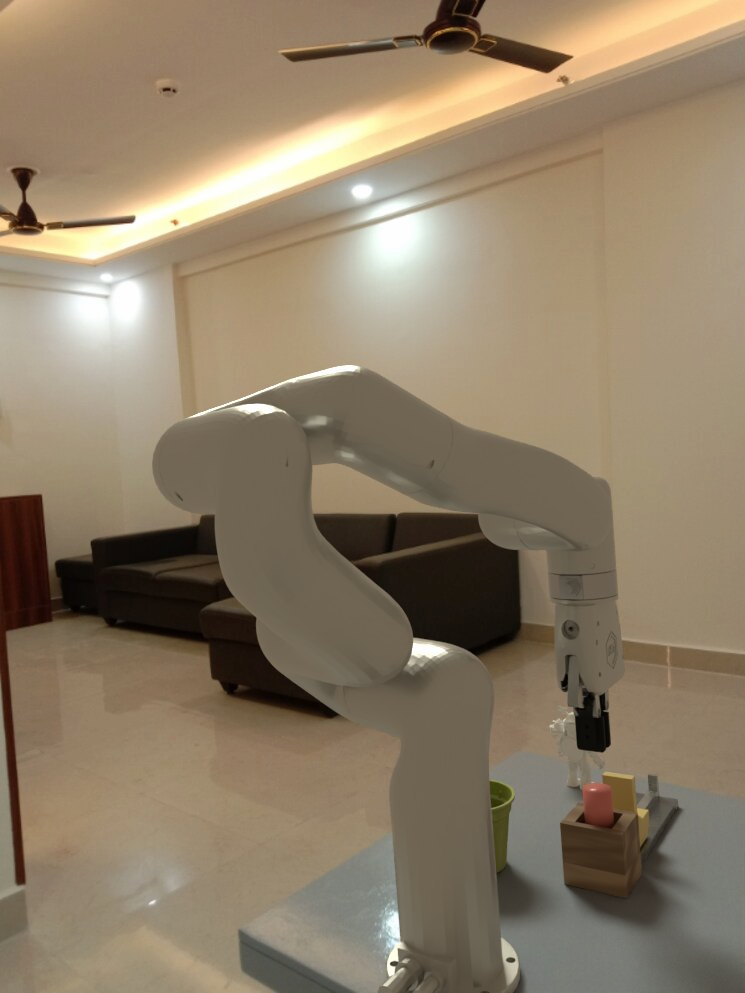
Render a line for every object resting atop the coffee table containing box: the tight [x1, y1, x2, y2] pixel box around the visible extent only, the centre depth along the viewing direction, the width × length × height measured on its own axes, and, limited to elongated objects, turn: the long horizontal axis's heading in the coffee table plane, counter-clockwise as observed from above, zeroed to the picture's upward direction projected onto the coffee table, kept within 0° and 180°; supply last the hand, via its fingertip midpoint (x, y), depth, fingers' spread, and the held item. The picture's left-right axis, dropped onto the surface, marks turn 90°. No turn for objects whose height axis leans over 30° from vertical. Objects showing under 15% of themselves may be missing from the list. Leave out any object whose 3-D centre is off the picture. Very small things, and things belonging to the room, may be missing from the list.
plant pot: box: [489, 779, 516, 874], centre depth 95 cm, size 9×9×9 cm
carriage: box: [601, 771, 650, 847], centre depth 96 cm, size 5×5×8 cm
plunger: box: [582, 782, 614, 829], centre depth 90 cm, size 3×3×5 cm
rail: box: [636, 773, 679, 867], centre depth 101 cm, size 19×6×4 cm, turn 146°
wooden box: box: [559, 802, 643, 899], centre depth 90 cm, size 6×7×7 cm
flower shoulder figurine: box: [548, 703, 606, 791], centre depth 116 cm, size 9×4×12 cm, turn 39°
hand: (594, 747), depth 90 cm, fingers closed
